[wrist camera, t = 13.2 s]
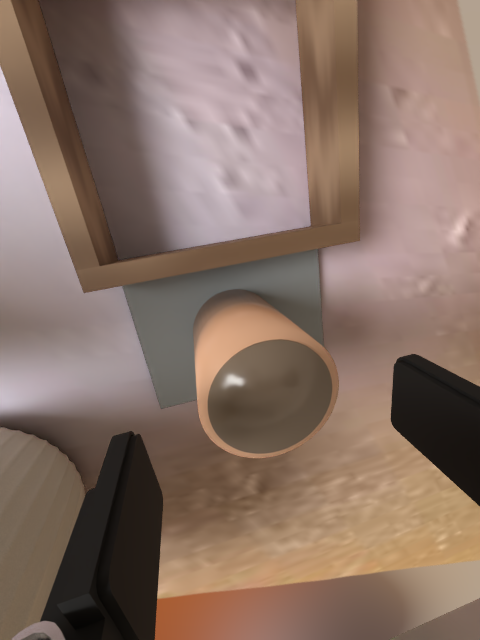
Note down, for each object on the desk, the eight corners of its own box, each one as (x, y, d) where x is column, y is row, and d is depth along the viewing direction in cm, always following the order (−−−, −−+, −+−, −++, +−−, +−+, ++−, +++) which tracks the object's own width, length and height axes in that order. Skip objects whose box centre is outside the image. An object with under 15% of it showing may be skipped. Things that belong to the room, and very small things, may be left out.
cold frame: (-6, -53, 12) (-124, -231, 8) (311, -60, 14) (371, -202, 10) (105, 281, 18) (76, 296, 13) (326, 240, 20) (370, 240, 15)
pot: (184, 299, 18) (181, 352, 10) (270, 281, 19) (337, 316, 11) (202, 377, 20) (214, 477, 12) (279, 358, 21) (342, 439, 13)
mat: (124, 284, 18) (122, 285, 17) (313, 248, 20) (317, 248, 19) (161, 404, 21) (161, 408, 21) (321, 363, 23) (325, 367, 22)
